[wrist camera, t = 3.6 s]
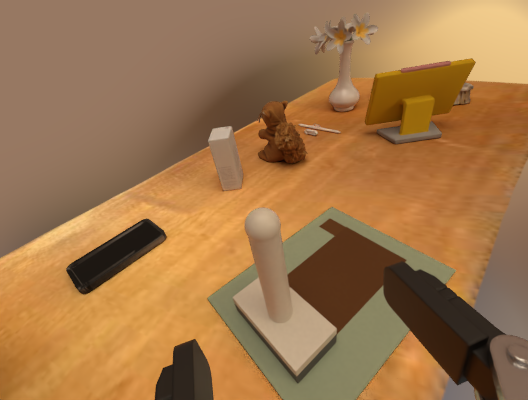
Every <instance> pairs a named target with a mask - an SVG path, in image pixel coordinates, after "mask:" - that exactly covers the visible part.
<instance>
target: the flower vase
mask: <svg viewBox="0 0 528 400" xmlns="http://www.w3.org/2000/svg"><path fill="white" fill-rule="evenodd" d="M369 19H370V16H369V14H368V13H366V14H364V16H363V18H362V20H361V22H359V21H360V20H359V17H358V15H357V14H354V18H353V19H352V20H351V23H350V24H346V19H345V17H342V18H341V20H340V22H339V24H338V26H335V27H331V21H330V23H329V25H328V22H326V24H325V32H326V33H327V34H326V33H324V34H321V33H320V31H319V29H318V28H317V27H315V33H316V35H318V36H311V37H310V40H311V42H313V43H318V44H317V45H316V47H315V54H318V52H319V51H320V49H322V52H323V53H324V52H325V43H326V42H327V41H328V40H330V39H331V38H332V39H331V40H330V42H329V44H328V45H327V50H328V51H330V50H332V49H333V48H335V47H336V46H337V45H338V46H337V50H338V52H339V53H340V70H339V79H338V83H337V85H336V87H335V89H334V90H333V91H332V92H331V94H330V96H329V102H330V104H331V105H332V106H334V110H336V111H341V112H342V111H349V110H352V109H353V108H354V105H355V104H356V103H357V102H358V101H359V98H360V95H359V92H358V90H357V89H356V88H355V87H354V86H353V84H352V81H351V75H350V57H351V50H352V45H353V43H354V40H357V39H359V38H361V40H363V41H364V42H365V43H366V44H370V37H369V36H368V35H372V34H374V33H375V32H376V31H377V30H378V27H377V26H375V25H370V26H367V25H368V23H369ZM366 26H367V27H366ZM352 32H354V33H353V35H352V34H351V33H352Z"/></svg>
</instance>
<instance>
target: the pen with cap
mask: <svg viewBox="0 0 528 400" xmlns="http://www.w3.org/2000/svg"><path fill="white" fill-rule="evenodd" d="M316 125H319V124H316ZM299 126H302V127H308V128H313V129H314V130H315V129H318V130H323V131H329V132H334V133H341V132H340V131H338V130H331V129H326V128H320V127H321V126H320V125H319V126H309V125H304V124H299ZM314 130H309V129H306V130H305V131H304V132H305V133H306V134H311V135H314V136H315V135H316V134H318V132H317V131H316V130H315V131H314Z"/></svg>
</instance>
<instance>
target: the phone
mask: <svg viewBox="0 0 528 400" xmlns="http://www.w3.org/2000/svg"><path fill="white" fill-rule="evenodd" d="M165 239H166V235H165V233H164V231H163V230H162V229H161V228H159V227H158V226H157V225H156V224H154V223H153V222H152V221H151V220H149V219H144V220H141V221H140V222H138V223H136V224H135V225H133V226H132V227H130V228H128V229H127V230H125V231H123V232H122V233H120V234H118V235H117V236H115V237H114V238H112V239H110V240H109V241H107V242H105V243H104V244H102V245H101V246H99V247H97V248H96V249H94V250H92V251H91V252H89V253H87V254H86V255H84V256H83V257H81V258H79V259H78V260H76V261H74V262H73V263H71V264H70V265H69V266H68V267H67V269H66V271H67V273H68V274H69V276H70V278H71V280H72V281H73V283H74V285H75V287H76V288H77V289H78V291H79V292H80V293H82V294H86V293H88V292H90V291H92V290H93V289H95V288H96V287H98V286H99V285H100V284H102V283H103V282H105V281H106V280H108V279H109V278H111V277H112V276H113V275H115V274H116V273H118V272H119V271H121V270H122V269H124V268H125V267H127V266H128V265H129V264H131V263H132V262H134V261H135V260H137V259H138V258H140V257H141V256H142V255H144V254H145V253H147V252H148V251H150V250H151V249H153V248H154V247H155V246H157V245H158V244H160V243H161V242H163V241H164V240H165Z"/></svg>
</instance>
